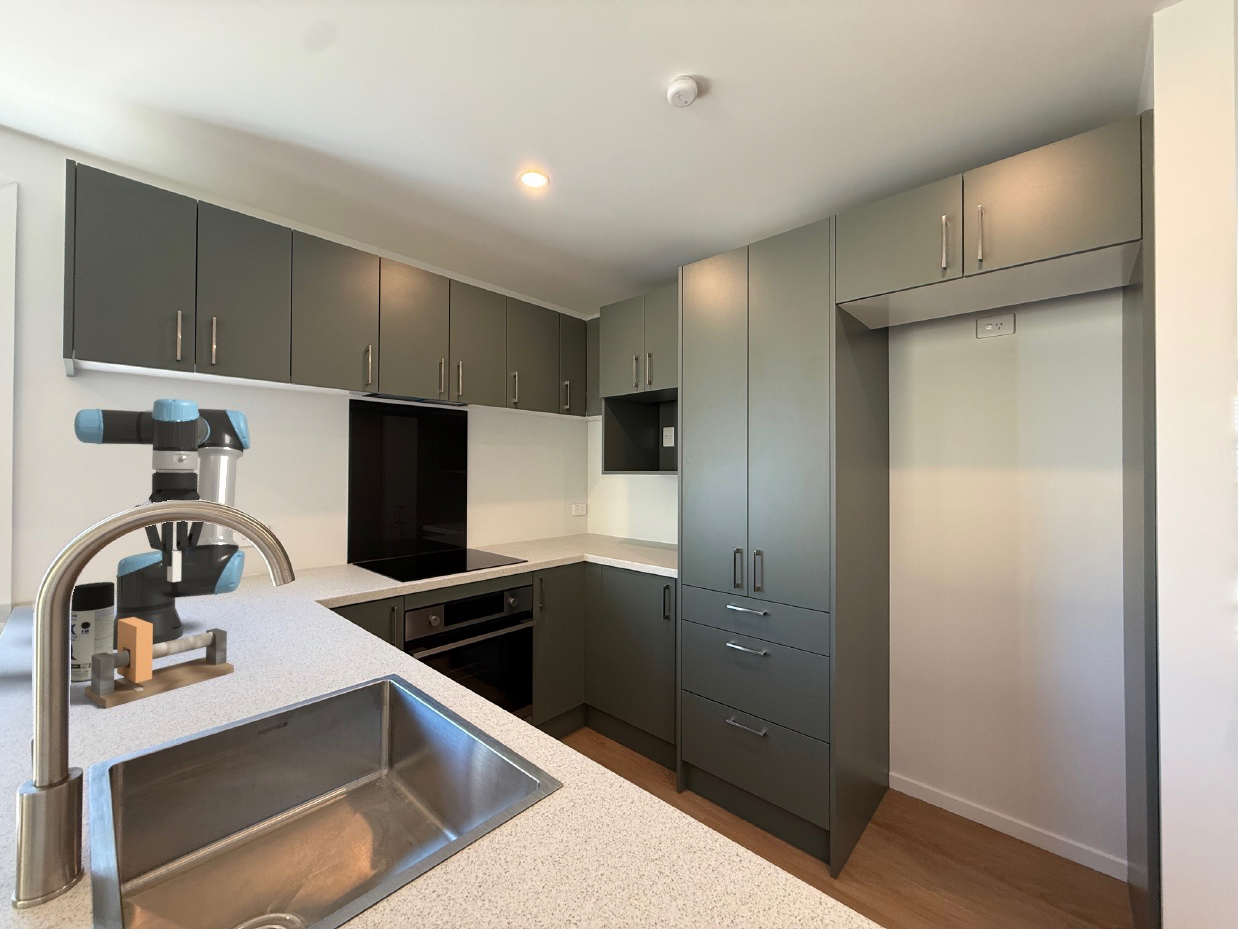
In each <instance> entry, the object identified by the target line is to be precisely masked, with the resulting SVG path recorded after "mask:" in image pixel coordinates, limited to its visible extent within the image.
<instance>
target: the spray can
mask: <svg viewBox="0 0 1238 929" xmlns="http://www.w3.org/2000/svg"><path fill="white" fill-rule="evenodd" d="M74 586H75V589H74V592H73V595H72V594H71V607H70V611H71V612H70V640H71V680H70V682H73V683H78V682H77V681H83V682H89V680H90V681H91V664H92V655H94V654H99V653H104V652H106V653H108V654H113V653H114V648H113V631H114V619H115V582H112V581H103V582H102V581H101V582H98V581H97V582H92V583H91V582H90V583H83V584H77V585H74ZM75 681H76V682H75Z"/></svg>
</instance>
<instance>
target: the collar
mask: <svg viewBox="0 0 1238 929" xmlns="http://www.w3.org/2000/svg"><path fill="white" fill-rule="evenodd" d="M152 645H153V624H152V623H149V622H146V621H144V620H141V619H138V618H135V617H131V618H125V619H120V620H118V645H117V649H116V650H117V651H116V653H117V652H122V651H125V650H127V649H130V666H124V667H120V668H116V673H117V675H119V676H121V677H122V678H123V677H125V678H127V679H129V680H131V681H133V682H135V683H138V682H142V681H146V680H149V679H152V670H153V660H152Z"/></svg>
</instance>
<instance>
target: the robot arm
mask: <svg viewBox="0 0 1238 929" xmlns="http://www.w3.org/2000/svg"><path fill="white" fill-rule="evenodd" d="M73 426H74V432H75V435H76V438H77V439H78V441H80V442H81V443H84V444H96V445H147V446H149V445H150V446H151V445H152V461H151V462H152V463H151V469H152V470H154V471H155V472H153V473H152V474H151V494H150V495H149V497H148V500H147V501H144V502H143V503H142V504H137V505H135V506H134V508H135V507H139V506H141V505H146V504H148V503H153V502H162V501H167V500H203V501H204V500H207V501H211V502H217V503H222V504H225V505H228V506H231V507H234V508H235V502H236V501H235V499H236V498H235V497H236V483H237V482H236V480H237V461H238V460H239V459H240V458H242V457H243V456H244V450H245V451H246V450H250V448H251V439H250V431H249V425H248V421H247V417H246V415H245V413H244V412H243V411H240V410H232V409H227V408H225V409H216V408H215V409H213V408H199V405H198V403H197V402H196V401H192V400H186V399H179V398H178V399H175V398H158V399H156V400H154V402H153V409H147V410H144V411H143V410H141V411H139V410H138V411H137V410H125V409H124V410H123V409H121V410H120V409H101V408H95V409H94V408H84V409H81V410H79V411H78V412H77V413H76V416H75V418H74V425H73ZM198 460H200V461H198ZM198 462H199V467H198ZM198 469H199V470H198ZM195 470H198V471H199V473H197V472H195ZM175 522H176V521H175ZM160 528H161V530H160V531H161V537H160V534H159V530H158V527H157V524H155V525H152V526H148V527H144V530H145V534H146V536H147V540H148V543H149V547H150V549H153V550H154V551H148V552H143V553H138V554H134V555H133V554H132V555H129V556H126V557H123V558H122V559H120V561H118V564H117V570H116V571H117V574H116V575H115V578H116V614H115V616H114V631H113V650H114V649H116V650H117V645H118V620H120V619H125V618H131V617H135V618H138V619H141V620H144V621H146V622H149V623H152V624H153V645H154V644H158V643H163V642H167V641H172V640H176V639H180V637H182V636H183V635H184V624H183V622H182V620H181V618H180V616H179V615H180V614H179V613H178V611H177V608H176V599H177V598H186V597H187V598H189V597H190V598H191V597H198V596H199V597H200V596H211V595H212V596H213V595H215V596H217V595H220V594H228V593H232V592H234V591H236V590H237V589H238V587H239V585H240V583H241V580H242V576H243V571H244V566H245V558H246V553H245V551H244V550H241V549H240V550H239V548H240V547H239V546H240V544H238V543H237V542H236V541H235V540H234V536H233V535H234V530H233V531H232V530H229V529H225V528H224V527H220V526H216V525H214V524H207V523H204V522H191V525H190V528H189V521H188V522H185V521H181V522H176V527H175V530H176V531H175V532H176V534H175V536H176V538H175V540H176V541H175V545H176V546H175V548H176V549H175V548H174V521H173V522H166V523H163V524H162V523H161V527H160Z"/></svg>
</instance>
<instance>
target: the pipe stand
mask: <svg viewBox="0 0 1238 929" xmlns="http://www.w3.org/2000/svg"><path fill="white" fill-rule="evenodd" d="M227 641H228V632H227V630H223V629H220V628H217V627H216V628H210V629H206V631H205V633H200V634H195V635H191V636H186V637H182V638H176V639H174V640H171V641H167V642H163V643H158V644H154V645H152V661H153V660H156V659H160V658H164V657H170V656H173V655H177V654H182V653H186V652H190V651H195V650H198V649H204V648H205V656H204V657H203V656H202V657H199V658H196V659H192V660H191V659H190V660H188V661H183V662H180V663H175V664H171V665H167V666H163V667H159V668H155V669H152V679H149V680H146V681H142V682H138V683H135V682H133V681H131V680H129V679H127V678H125V677H123V676H122V677H118V678H115V669H117V668H120V667H124V666H130V649H127V650H125V651H122V652H117V651H116V652H113V654H108V653H106V652H104V653H99V654H94V655H92V664H91V680H90V685H89V686H85V687H84V695H85V696H86V697H87V698H89V697H90V699H91V700H93V701H94V702H95V703H97V704H99V705H101V706H102V707H103V708H105V709H108V708H110V709H111V708H113V707H116V706H119V705H123V704H126V703H131V702H134V701H137V700H142V699H144V698H148V697H151V696H154V695H155V696H156V695H158V694H162V693H166V692H169V691H173V690H177V689H179V688H182V687H183V688H184V687H186V686H190V685H194V684H198V683H200V682H204V681H208V680H211V679H214V678H215V679H216V678H218V677H222V676H225V675H228V674H233V673H234V672H235V671H234V670H235V665H234V664H231V663H228V662H227V651H228V650H227V649H228V647H227V646H228V645H227V644H228V642H227Z"/></svg>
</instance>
